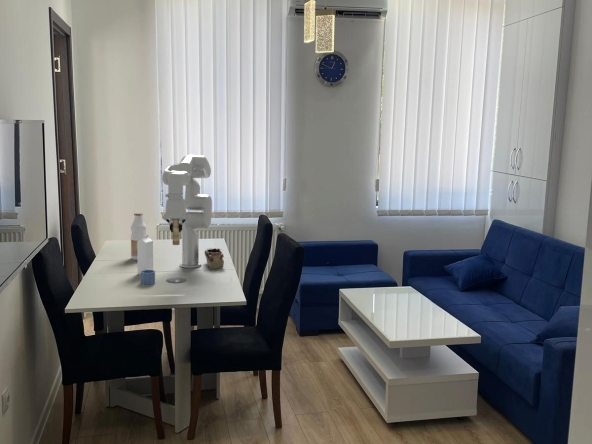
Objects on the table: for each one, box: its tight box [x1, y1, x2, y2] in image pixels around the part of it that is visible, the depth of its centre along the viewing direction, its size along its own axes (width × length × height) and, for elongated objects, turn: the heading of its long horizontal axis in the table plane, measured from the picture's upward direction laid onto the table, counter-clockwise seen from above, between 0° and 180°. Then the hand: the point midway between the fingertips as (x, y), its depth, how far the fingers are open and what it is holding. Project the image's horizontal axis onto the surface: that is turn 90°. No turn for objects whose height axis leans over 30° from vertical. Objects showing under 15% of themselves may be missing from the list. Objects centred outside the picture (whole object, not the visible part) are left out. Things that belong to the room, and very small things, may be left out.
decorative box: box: [204, 247, 225, 270], centre depth 361 cm, size 13×20×10 cm, turn 11°
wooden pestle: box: [171, 219, 181, 246], centre depth 320 cm, size 4×4×18 cm
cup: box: [140, 269, 156, 286], centre depth 318 cm, size 7×7×7 cm
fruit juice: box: [130, 212, 148, 261], centre depth 372 cm, size 9×9×28 cm
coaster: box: [165, 277, 188, 284], centre depth 325 cm, size 11×11×1 cm
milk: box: [137, 234, 154, 275], centre depth 336 cm, size 6×6×22 cm
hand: (176, 231), depth 320 cm, fingers closed on wooden pestle, 3 cm apart
